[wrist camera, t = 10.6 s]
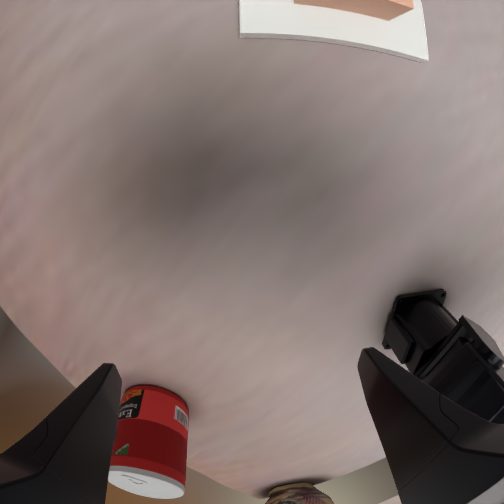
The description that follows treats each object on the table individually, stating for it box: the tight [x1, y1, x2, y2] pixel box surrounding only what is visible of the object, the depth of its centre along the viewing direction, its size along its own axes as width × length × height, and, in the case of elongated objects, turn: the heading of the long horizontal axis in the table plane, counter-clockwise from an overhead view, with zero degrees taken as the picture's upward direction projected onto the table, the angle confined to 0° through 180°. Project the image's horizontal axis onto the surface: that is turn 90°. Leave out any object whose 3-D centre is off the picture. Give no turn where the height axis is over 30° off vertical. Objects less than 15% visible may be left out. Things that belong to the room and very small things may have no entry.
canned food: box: [108, 385, 189, 499], centre depth 24 cm, size 8×8×11 cm
